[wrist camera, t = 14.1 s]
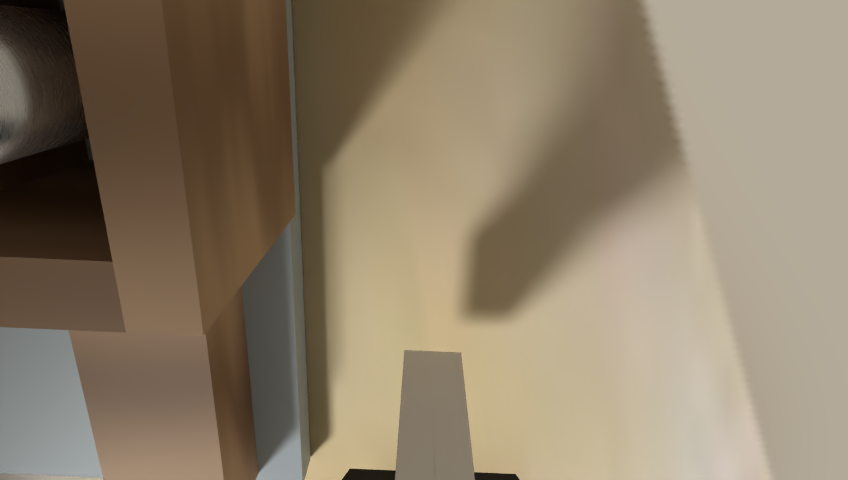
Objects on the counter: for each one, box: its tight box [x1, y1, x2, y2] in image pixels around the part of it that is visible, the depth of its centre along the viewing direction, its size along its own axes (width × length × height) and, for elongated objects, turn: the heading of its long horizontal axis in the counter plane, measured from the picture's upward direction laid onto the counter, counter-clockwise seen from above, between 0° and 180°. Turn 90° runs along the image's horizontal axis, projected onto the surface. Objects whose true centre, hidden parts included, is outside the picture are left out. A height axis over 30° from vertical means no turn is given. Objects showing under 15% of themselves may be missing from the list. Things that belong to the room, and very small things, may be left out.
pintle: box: [0, 5, 89, 164], centre depth 9 cm, size 2×2×7 cm
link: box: [0, 0, 295, 480], centre depth 11 cm, size 15×6×6 cm, turn 177°
